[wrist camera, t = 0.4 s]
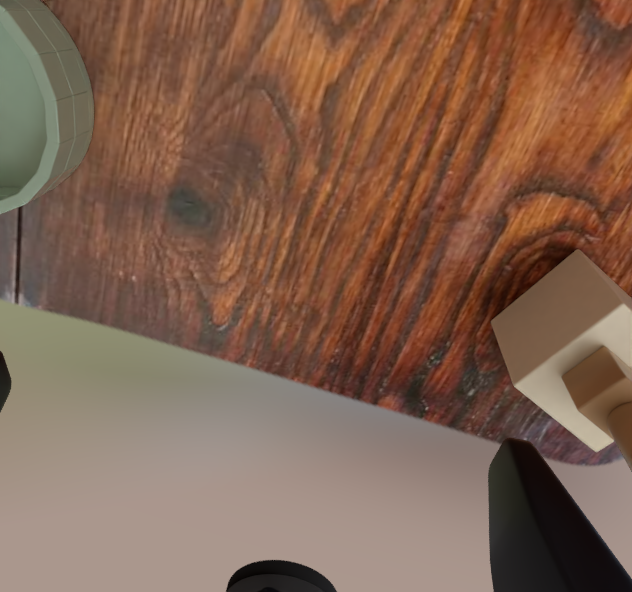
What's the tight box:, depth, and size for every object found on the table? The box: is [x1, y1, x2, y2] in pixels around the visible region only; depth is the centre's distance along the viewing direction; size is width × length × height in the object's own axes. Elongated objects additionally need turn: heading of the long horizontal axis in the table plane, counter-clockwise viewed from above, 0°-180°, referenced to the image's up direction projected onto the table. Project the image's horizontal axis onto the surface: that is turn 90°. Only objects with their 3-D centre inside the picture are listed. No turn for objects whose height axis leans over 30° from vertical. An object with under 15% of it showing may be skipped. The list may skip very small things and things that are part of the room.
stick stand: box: [491, 249, 632, 452], centre depth 23 cm, size 5×5×5 cm
